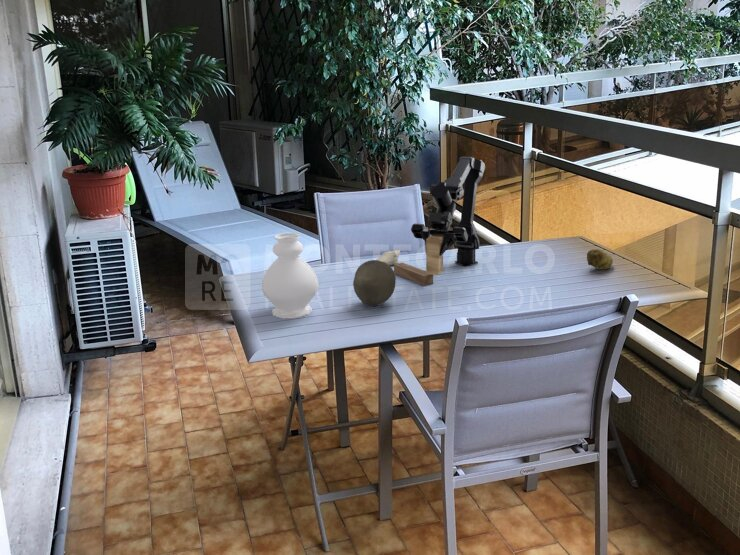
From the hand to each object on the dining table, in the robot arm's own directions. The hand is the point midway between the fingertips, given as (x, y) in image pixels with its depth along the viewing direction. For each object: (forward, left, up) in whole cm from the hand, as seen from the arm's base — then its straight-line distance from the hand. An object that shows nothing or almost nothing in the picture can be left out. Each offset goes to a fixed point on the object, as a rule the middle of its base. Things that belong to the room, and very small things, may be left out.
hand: (433, 254), depth 246 cm
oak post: (-1, -1, -7) cm, 7 cm away
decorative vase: (+47, -14, -14) cm, 51 cm away
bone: (-2, -33, -14) cm, 36 cm away
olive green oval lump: (-64, +17, -14) cm, 68 cm away
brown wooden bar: (-4, -17, -13) cm, 22 cm away
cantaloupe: (+23, -2, -14) cm, 27 cm away
